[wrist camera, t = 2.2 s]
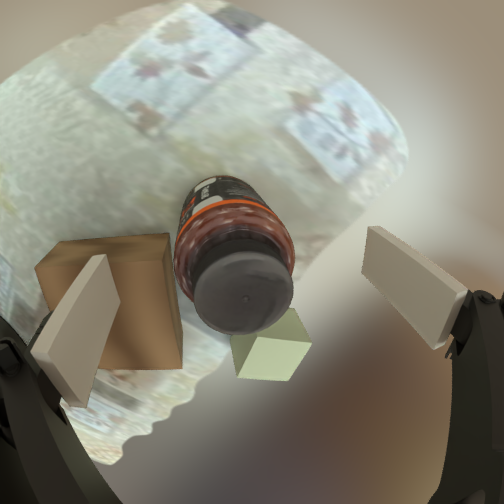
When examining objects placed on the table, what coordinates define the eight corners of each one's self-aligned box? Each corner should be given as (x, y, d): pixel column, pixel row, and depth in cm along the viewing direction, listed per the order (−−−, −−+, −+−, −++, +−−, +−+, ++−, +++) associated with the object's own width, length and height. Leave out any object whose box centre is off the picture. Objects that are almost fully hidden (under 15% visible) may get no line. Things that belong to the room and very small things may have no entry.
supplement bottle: (180, 175, 19) (157, 227, 8) (261, 173, 20) (328, 220, 10) (185, 251, 21) (178, 357, 11) (259, 246, 22) (308, 343, 12)
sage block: (229, 339, 26) (236, 377, 21) (246, 299, 24) (257, 336, 20) (274, 345, 27) (287, 380, 23) (294, 308, 26) (312, 342, 21)
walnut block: (89, 331, 23) (76, 366, 18) (61, 240, 19) (34, 267, 14) (182, 330, 25) (182, 368, 20) (169, 231, 20) (162, 259, 16)
